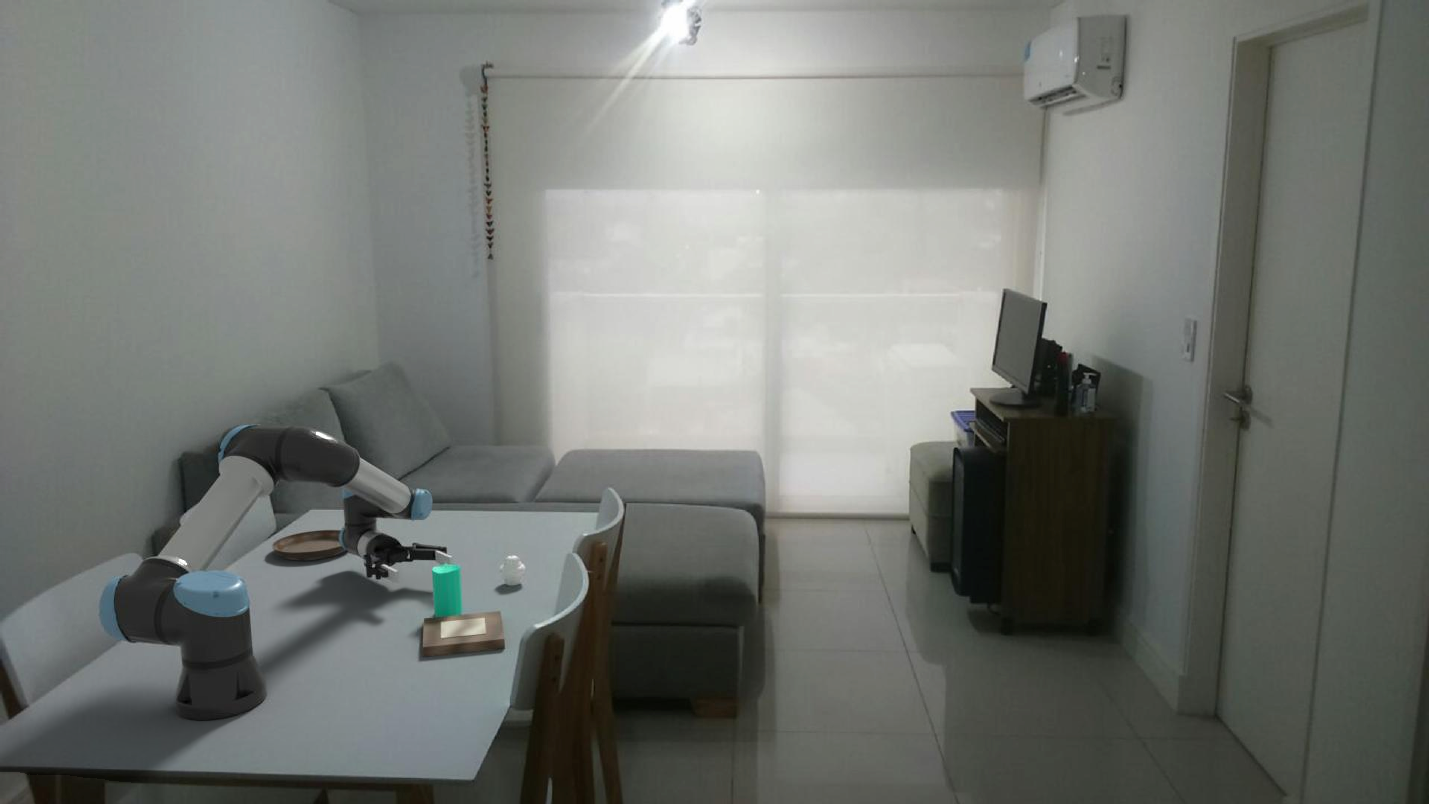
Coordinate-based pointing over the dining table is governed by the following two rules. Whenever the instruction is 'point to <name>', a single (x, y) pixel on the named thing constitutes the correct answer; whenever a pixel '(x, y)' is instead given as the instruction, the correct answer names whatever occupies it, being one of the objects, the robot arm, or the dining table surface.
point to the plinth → (463, 633)
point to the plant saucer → (309, 545)
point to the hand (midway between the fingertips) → (424, 569)
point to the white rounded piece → (512, 570)
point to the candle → (447, 590)
